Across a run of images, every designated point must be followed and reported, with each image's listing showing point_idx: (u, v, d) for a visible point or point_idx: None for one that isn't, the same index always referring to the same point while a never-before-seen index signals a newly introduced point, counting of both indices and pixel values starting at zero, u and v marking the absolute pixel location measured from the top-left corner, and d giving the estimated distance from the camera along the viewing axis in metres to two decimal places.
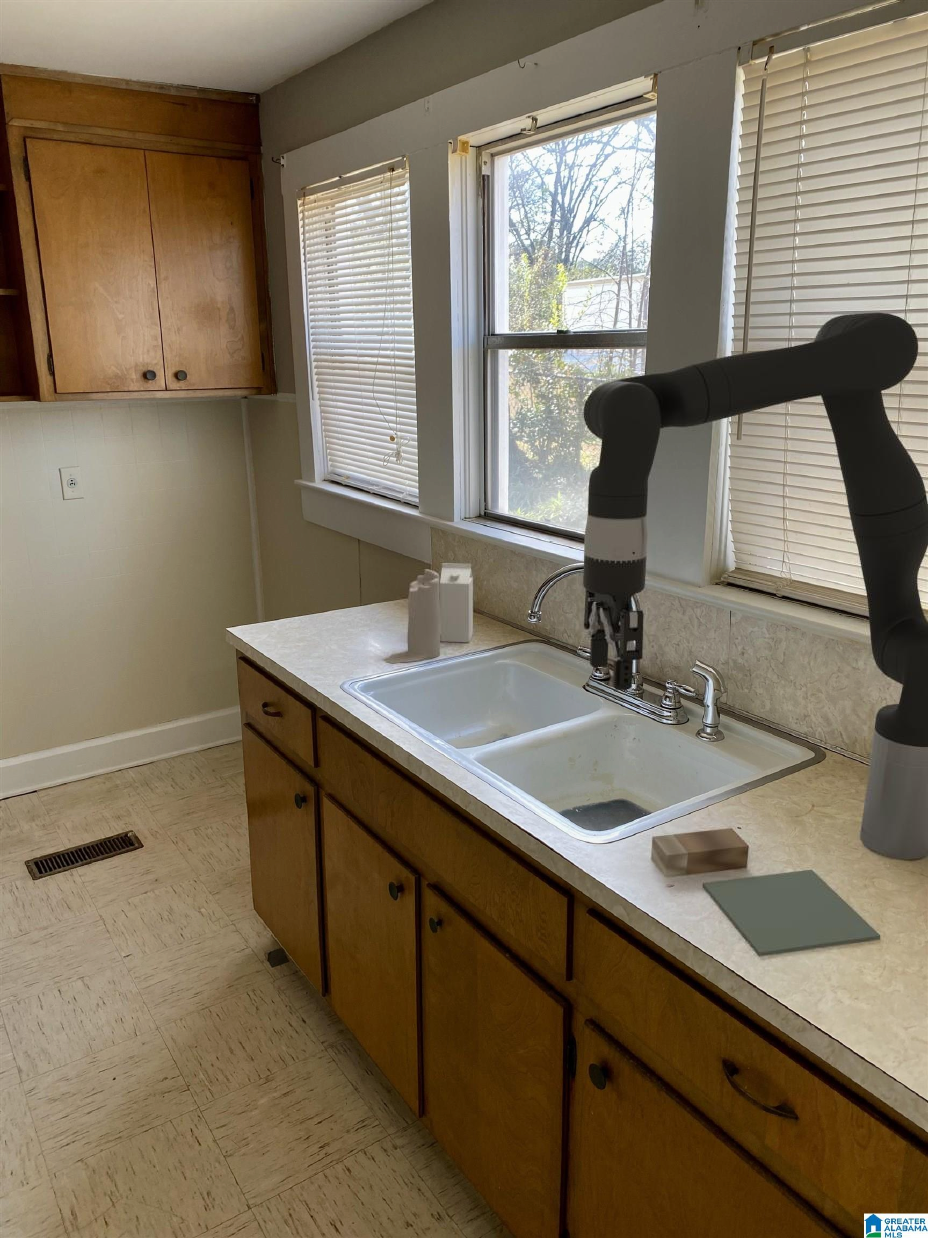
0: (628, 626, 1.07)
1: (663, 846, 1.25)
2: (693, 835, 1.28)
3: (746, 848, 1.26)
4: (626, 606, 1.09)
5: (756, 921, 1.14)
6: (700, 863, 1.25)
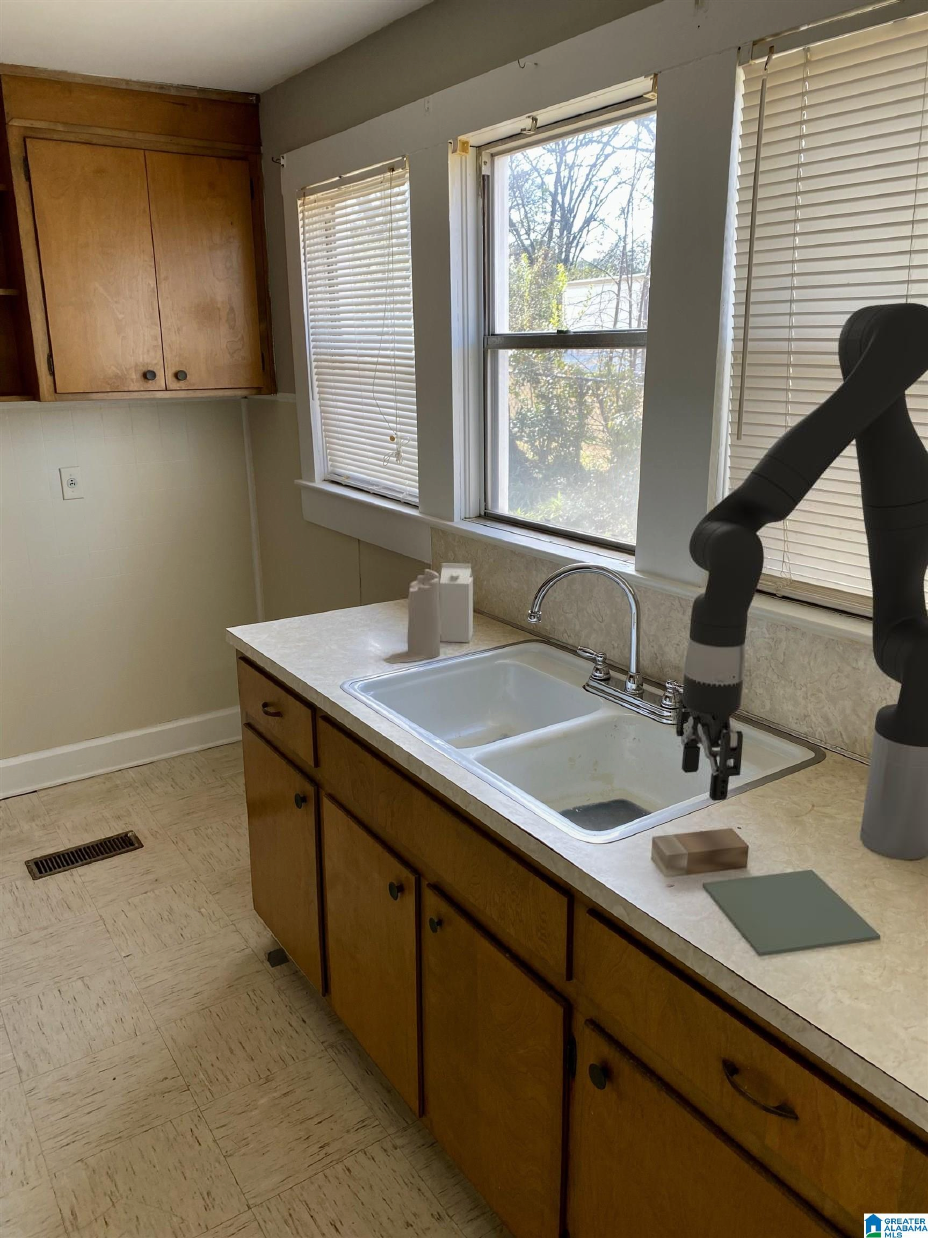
0: (728, 746, 1.15)
1: (663, 846, 1.25)
2: (693, 835, 1.28)
3: (746, 848, 1.26)
4: (724, 725, 1.18)
5: (756, 921, 1.14)
6: (700, 863, 1.25)
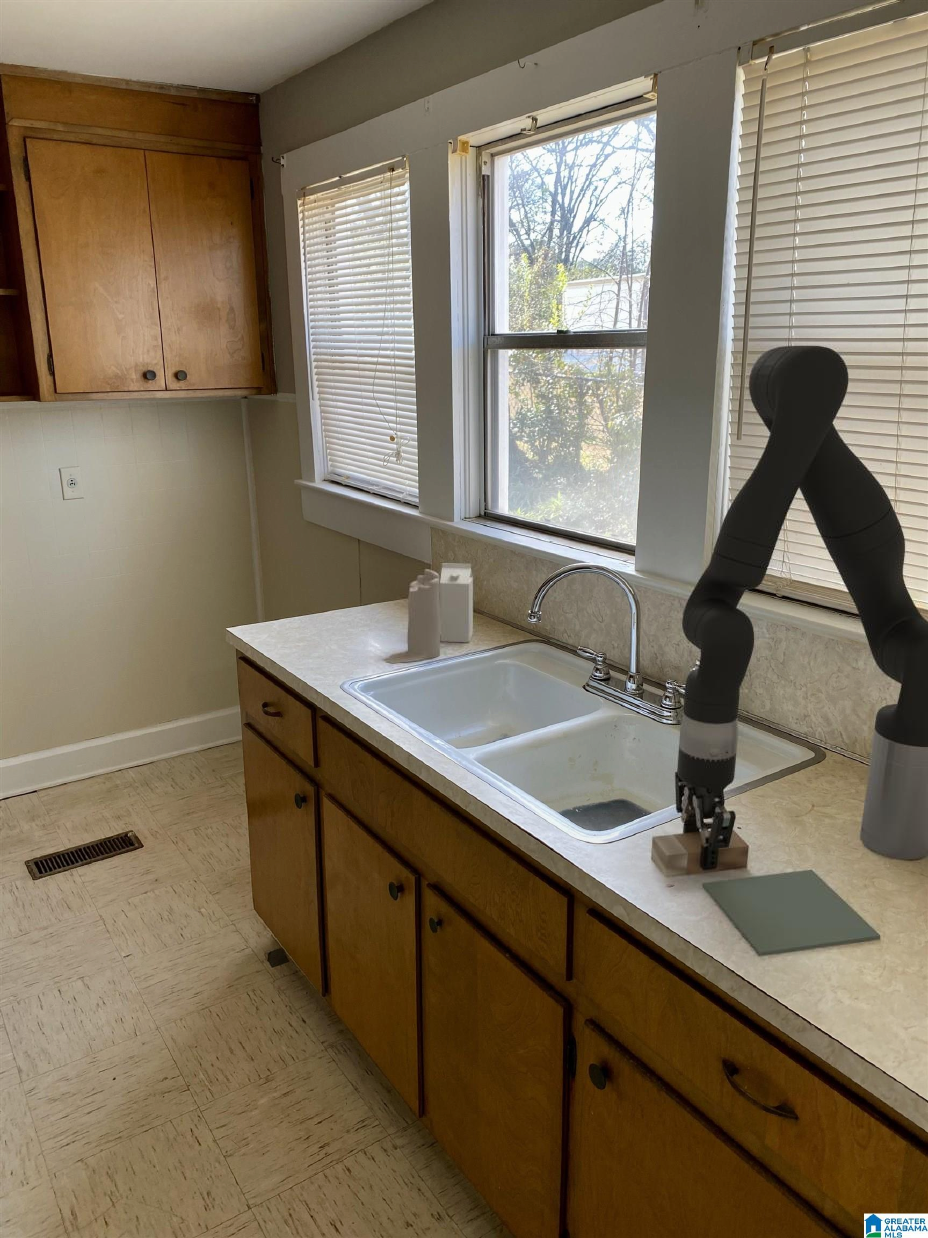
0: (721, 826, 1.19)
1: (663, 846, 1.25)
2: (693, 835, 1.28)
3: (746, 848, 1.26)
4: (719, 799, 1.21)
5: (756, 921, 1.14)
6: None
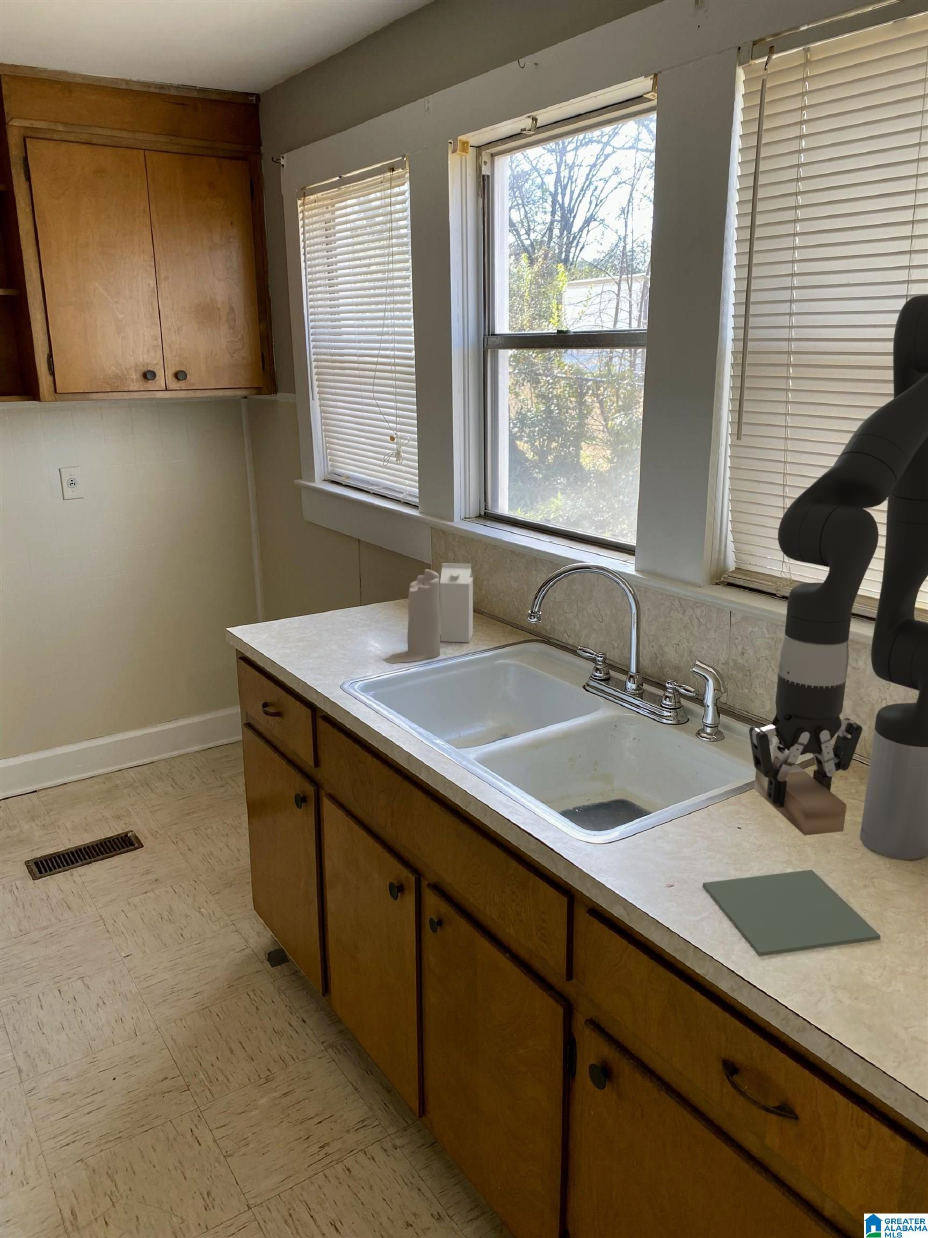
0: (752, 741, 1.10)
1: None
2: (810, 781, 1.12)
3: (805, 809, 1.06)
4: None
5: (756, 921, 1.14)
6: None
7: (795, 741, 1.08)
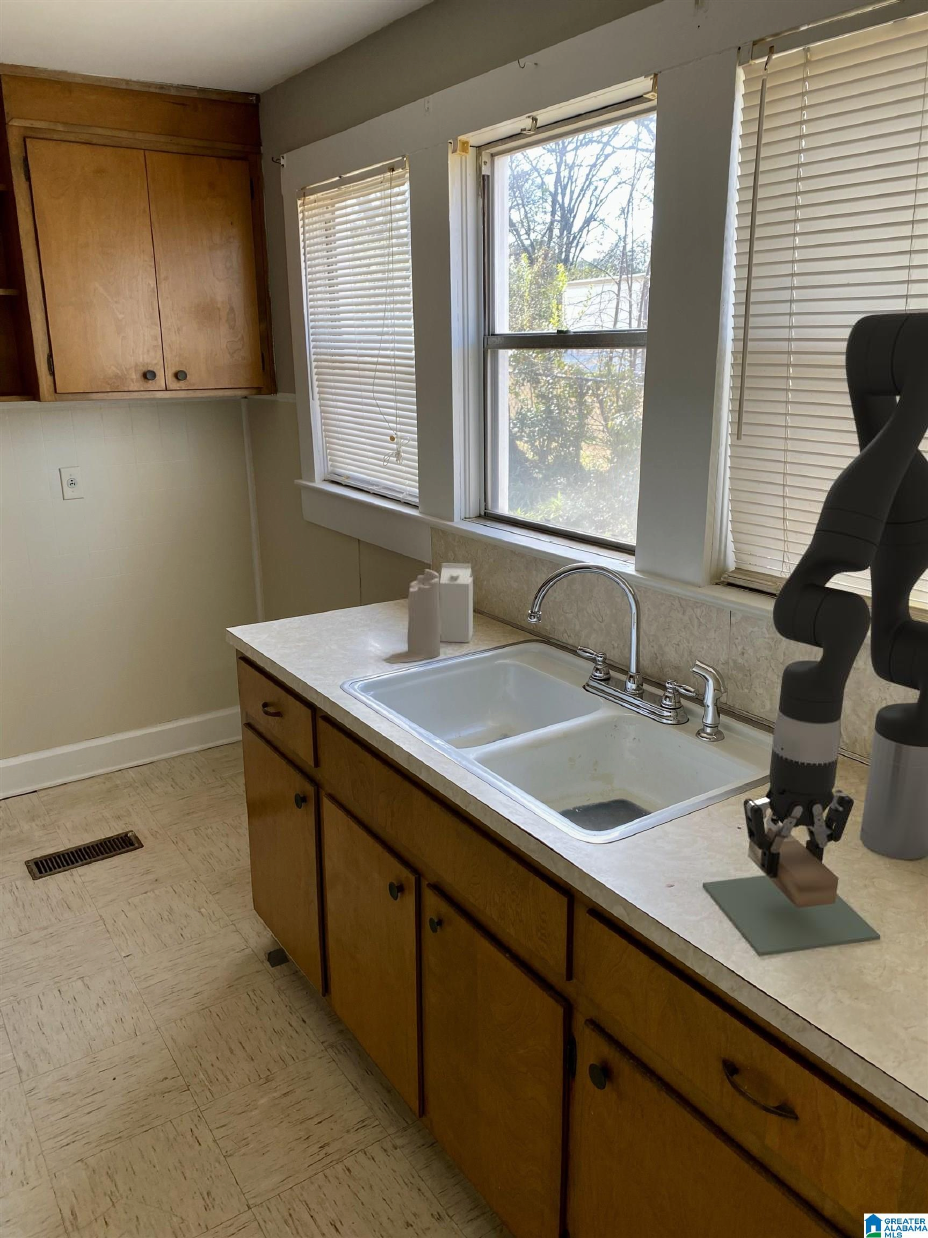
0: (747, 814, 1.12)
1: None
2: (803, 851, 1.15)
3: (798, 883, 1.09)
4: None
5: (756, 921, 1.14)
6: None
7: (788, 814, 1.11)
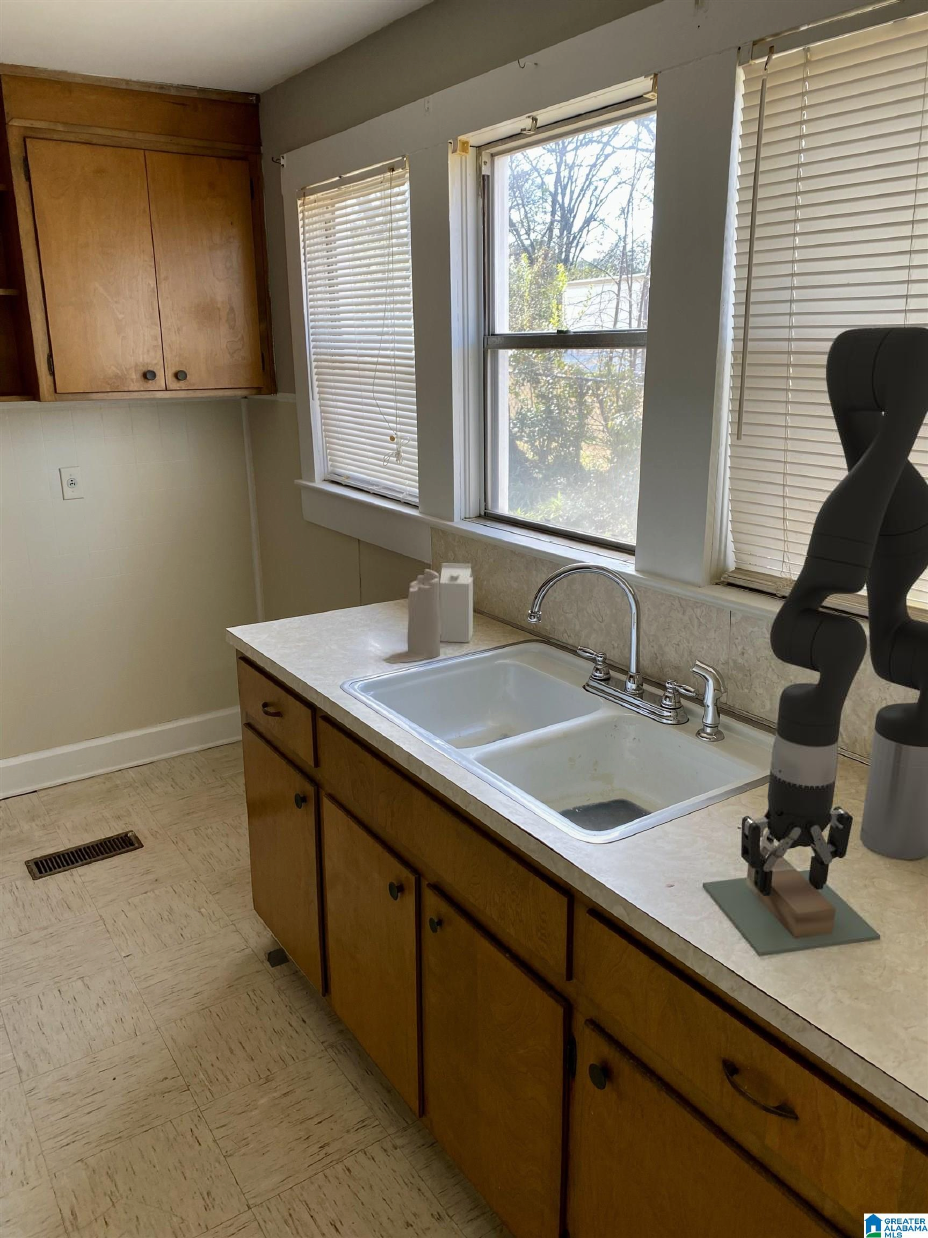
0: (744, 831, 1.13)
1: None
2: (800, 881, 1.16)
3: (796, 914, 1.10)
4: None
5: (756, 921, 1.14)
6: None
7: (786, 835, 1.11)
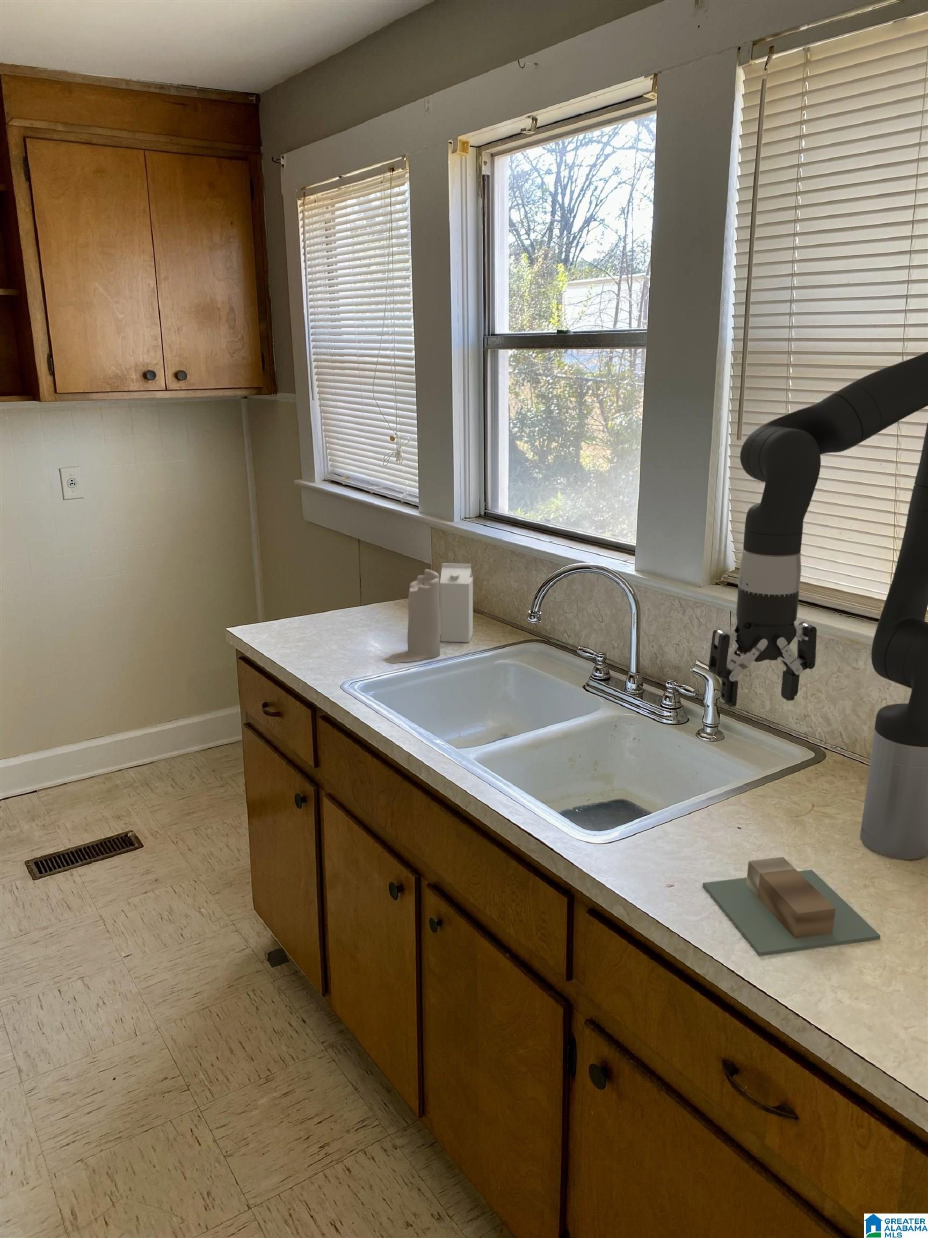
0: (713, 642, 1.19)
1: (765, 861, 1.21)
2: (800, 881, 1.16)
3: (796, 914, 1.10)
4: None
5: (756, 921, 1.14)
6: (766, 894, 1.17)
7: (753, 646, 1.18)
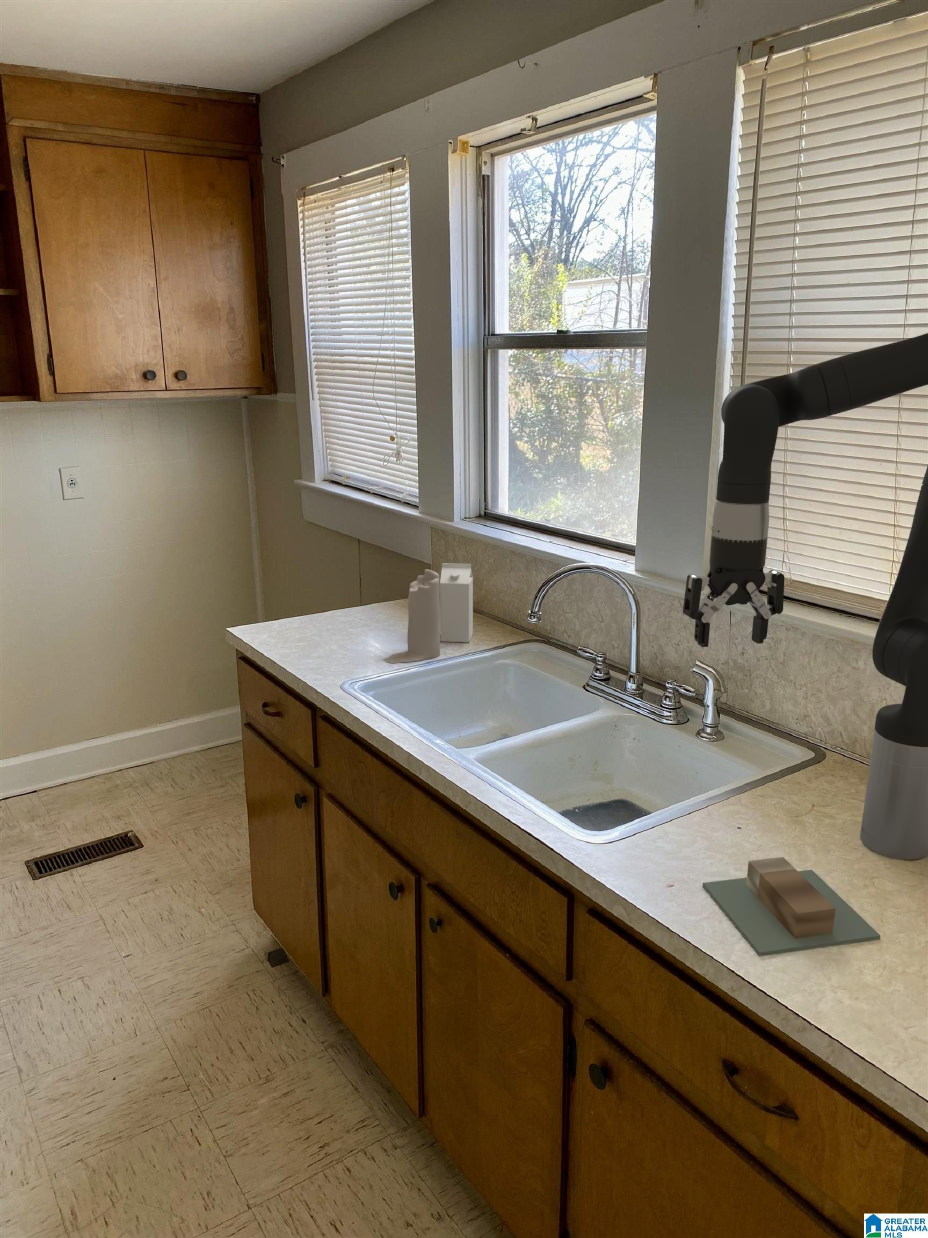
0: (687, 586, 1.29)
1: (765, 861, 1.21)
2: (800, 881, 1.16)
3: (796, 914, 1.10)
4: None
5: (756, 921, 1.14)
6: (766, 894, 1.17)
7: (724, 589, 1.27)
